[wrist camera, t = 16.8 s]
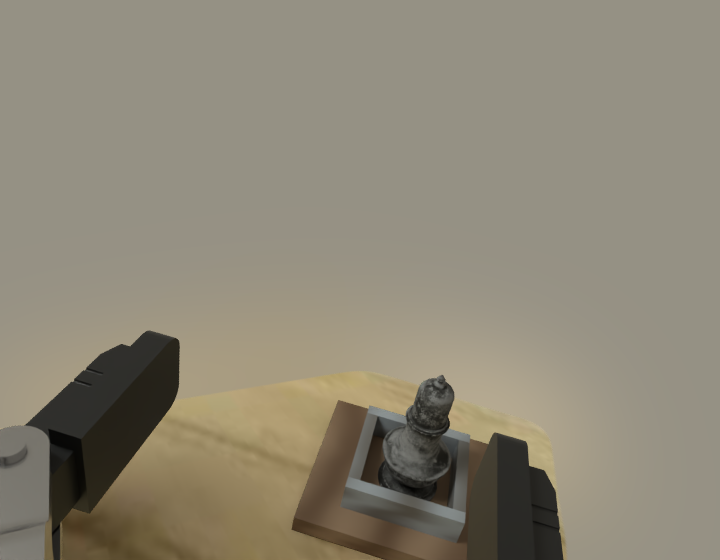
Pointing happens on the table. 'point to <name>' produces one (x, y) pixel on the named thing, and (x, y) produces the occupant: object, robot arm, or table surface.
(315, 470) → the socket stand
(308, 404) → the table surface
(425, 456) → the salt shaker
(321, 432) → the table surface
